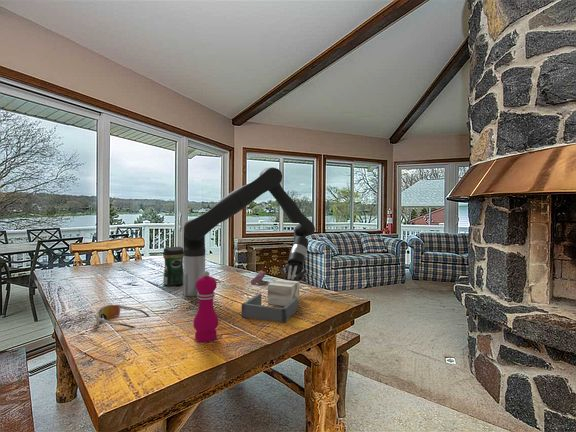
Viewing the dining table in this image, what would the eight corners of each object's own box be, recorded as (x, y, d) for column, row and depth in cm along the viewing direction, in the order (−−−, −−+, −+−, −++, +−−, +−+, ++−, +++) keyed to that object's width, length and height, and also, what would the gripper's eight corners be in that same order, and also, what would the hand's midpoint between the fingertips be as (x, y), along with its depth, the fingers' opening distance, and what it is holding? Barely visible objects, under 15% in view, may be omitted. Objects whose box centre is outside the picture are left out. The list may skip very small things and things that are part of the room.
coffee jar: (180, 281, 167) (180, 245, 166) (186, 284, 160) (186, 247, 160) (161, 283, 161) (161, 246, 160) (166, 287, 155) (166, 248, 154)
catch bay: (285, 322, 110) (285, 309, 110) (241, 316, 115) (241, 304, 115) (297, 309, 124) (298, 297, 124) (258, 304, 129) (258, 293, 129)
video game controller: (257, 287, 162) (263, 275, 161) (249, 283, 162) (255, 271, 162) (262, 283, 171) (268, 271, 171) (255, 278, 172) (260, 267, 171)
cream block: (290, 307, 127) (291, 287, 127) (267, 304, 130) (267, 284, 130) (299, 300, 136) (299, 281, 136) (277, 297, 140) (277, 279, 140)
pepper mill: (196, 333, 100) (196, 268, 99) (219, 332, 100) (220, 268, 100) (190, 343, 92) (191, 273, 92) (216, 342, 93) (217, 273, 92)
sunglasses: (111, 314, 117) (113, 300, 116) (152, 320, 116) (154, 307, 116) (85, 329, 102) (87, 313, 102) (131, 337, 102) (134, 321, 102)
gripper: (282, 250, 151) (272, 282, 140) (309, 252, 147) (302, 285, 135) (285, 260, 156) (276, 291, 145) (312, 262, 152) (305, 294, 141)
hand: (289, 288), depth 140 cm, fingers closed
